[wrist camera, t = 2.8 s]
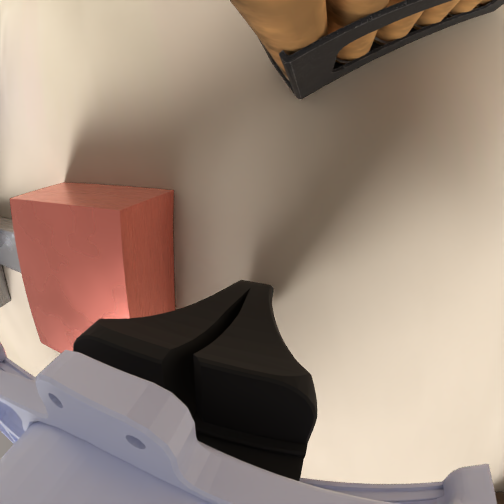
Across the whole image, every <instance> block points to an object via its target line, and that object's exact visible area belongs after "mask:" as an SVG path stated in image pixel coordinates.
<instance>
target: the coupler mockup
mask: <svg viewBox="0 0 504 504" xmlns="http://www.w3.org/2000/svg"><path fill="white" fill-rule="evenodd" d="M2 265H4V266H6V267H8V268H11V269H13V270H15V271H18V272H20V273H21V269H20V264H19V259H18V254H17V248H16V242H15V236H14V230H13V222H12V219H7V218H1V217H0V307H2V306H3V305H5V304H6V303H8V302H9V301H11V299H10V295H9V292H8V288H7V284H6V280H5V276H4V272H3V268H2Z"/></svg>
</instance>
